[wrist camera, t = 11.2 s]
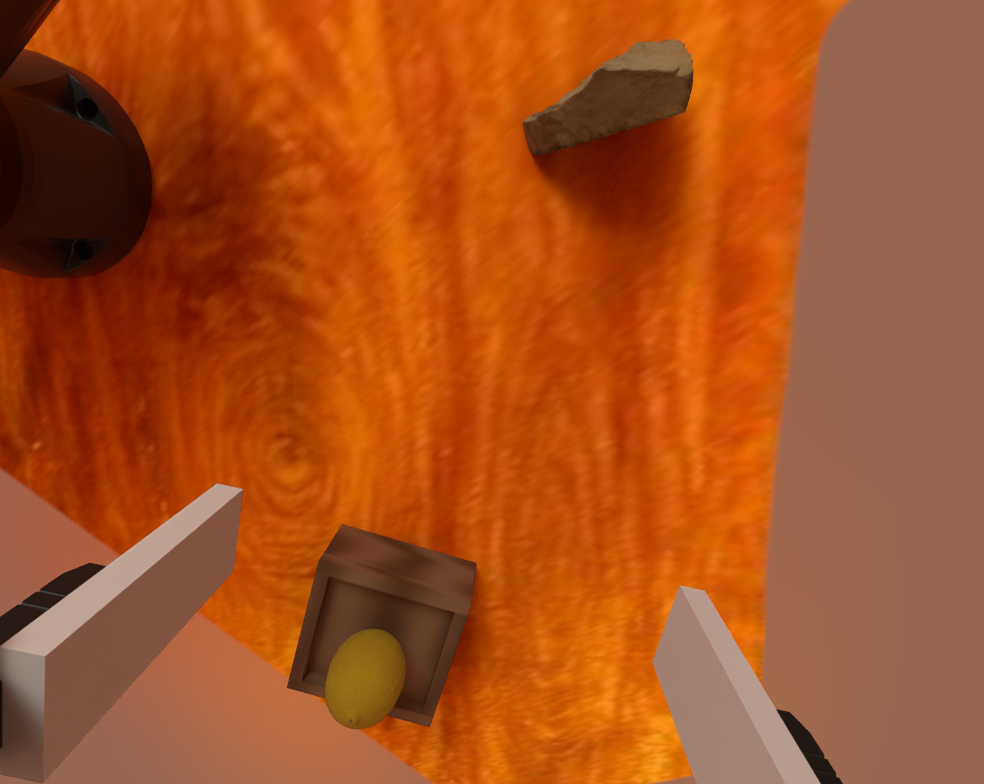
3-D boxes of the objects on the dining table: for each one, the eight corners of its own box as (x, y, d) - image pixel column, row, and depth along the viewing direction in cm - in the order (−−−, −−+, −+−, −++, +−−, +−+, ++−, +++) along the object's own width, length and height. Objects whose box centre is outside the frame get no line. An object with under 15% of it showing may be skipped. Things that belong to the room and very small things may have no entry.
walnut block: (314, 634, 48) (286, 687, 42) (344, 521, 45) (318, 561, 39) (439, 669, 48) (429, 727, 42) (476, 560, 46) (471, 605, 40)
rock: (511, 191, 36) (660, 205, 34) (505, 70, 28) (698, 82, 27) (535, 85, 40) (669, 94, 39) (536, -46, 32) (704, -41, 31)
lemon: (409, 605, 41) (386, 683, 33) (417, 664, 42) (397, 753, 35) (340, 609, 41) (302, 688, 34) (351, 668, 43) (316, 757, 35)
